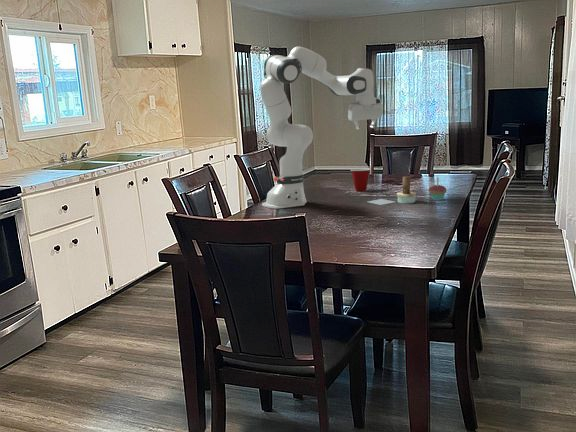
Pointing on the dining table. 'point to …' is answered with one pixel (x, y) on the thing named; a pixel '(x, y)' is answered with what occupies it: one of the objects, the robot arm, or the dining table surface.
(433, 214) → the dining table surface
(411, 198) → the bowl
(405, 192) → the lid
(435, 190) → the cupcake
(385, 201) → the mat
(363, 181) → the plastic cup
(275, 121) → the robot arm
